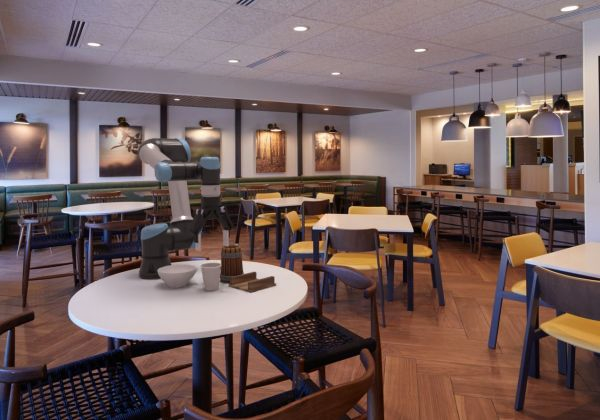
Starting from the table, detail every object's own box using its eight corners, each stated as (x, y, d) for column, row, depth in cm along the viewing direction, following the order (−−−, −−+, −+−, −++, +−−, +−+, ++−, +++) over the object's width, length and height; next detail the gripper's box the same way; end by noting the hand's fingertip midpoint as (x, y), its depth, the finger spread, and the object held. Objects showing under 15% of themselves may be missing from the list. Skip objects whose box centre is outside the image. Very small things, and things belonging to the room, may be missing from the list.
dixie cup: (199, 287, 182) (198, 263, 181) (219, 285, 185) (218, 261, 184) (203, 292, 174) (202, 268, 173) (224, 290, 177) (223, 265, 176)
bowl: (161, 292, 175) (161, 275, 175) (155, 283, 190) (154, 267, 189) (201, 286, 183) (201, 270, 182) (192, 278, 197) (191, 262, 196)
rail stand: (228, 286, 183) (228, 277, 183) (254, 279, 193) (254, 271, 193) (250, 292, 173) (250, 283, 173) (276, 285, 183) (276, 276, 183)
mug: (239, 284, 186) (238, 249, 185) (216, 283, 188) (215, 248, 187) (250, 274, 202) (250, 242, 200) (229, 274, 204) (228, 242, 202)
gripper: (189, 198, 164) (191, 254, 166) (241, 194, 182) (242, 244, 184) (178, 197, 169) (180, 251, 171) (230, 193, 187) (231, 242, 190)
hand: (212, 248), depth 178 cm, fingers open, 13 cm apart
